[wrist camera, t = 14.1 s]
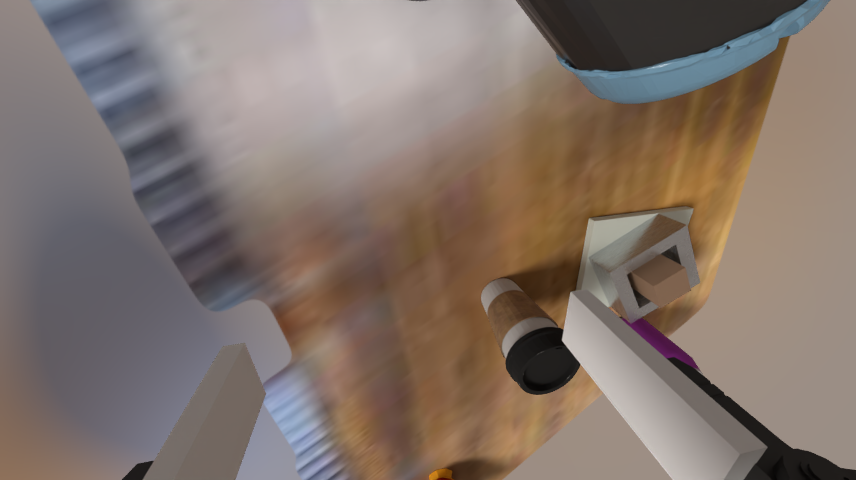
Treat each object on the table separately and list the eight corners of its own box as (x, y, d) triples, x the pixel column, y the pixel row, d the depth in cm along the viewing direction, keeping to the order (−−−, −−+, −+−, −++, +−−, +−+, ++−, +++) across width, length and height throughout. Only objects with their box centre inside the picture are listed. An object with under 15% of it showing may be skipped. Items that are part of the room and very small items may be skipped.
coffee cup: (529, 269, 45) (596, 340, 32) (520, 314, 49) (576, 395, 36) (476, 271, 44) (522, 347, 31) (470, 318, 47) (509, 404, 34)
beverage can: (620, 350, 57) (678, 408, 46) (594, 338, 54) (649, 397, 44) (649, 320, 55) (717, 374, 44) (624, 306, 52) (689, 360, 42)
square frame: (588, 257, 45) (609, 272, 41) (657, 213, 44) (687, 225, 40) (609, 305, 50) (630, 323, 46) (672, 267, 49) (699, 282, 45)
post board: (589, 218, 43) (633, 242, 36) (686, 206, 46) (746, 226, 38) (572, 307, 50) (606, 343, 43) (657, 293, 52) (704, 325, 45)
